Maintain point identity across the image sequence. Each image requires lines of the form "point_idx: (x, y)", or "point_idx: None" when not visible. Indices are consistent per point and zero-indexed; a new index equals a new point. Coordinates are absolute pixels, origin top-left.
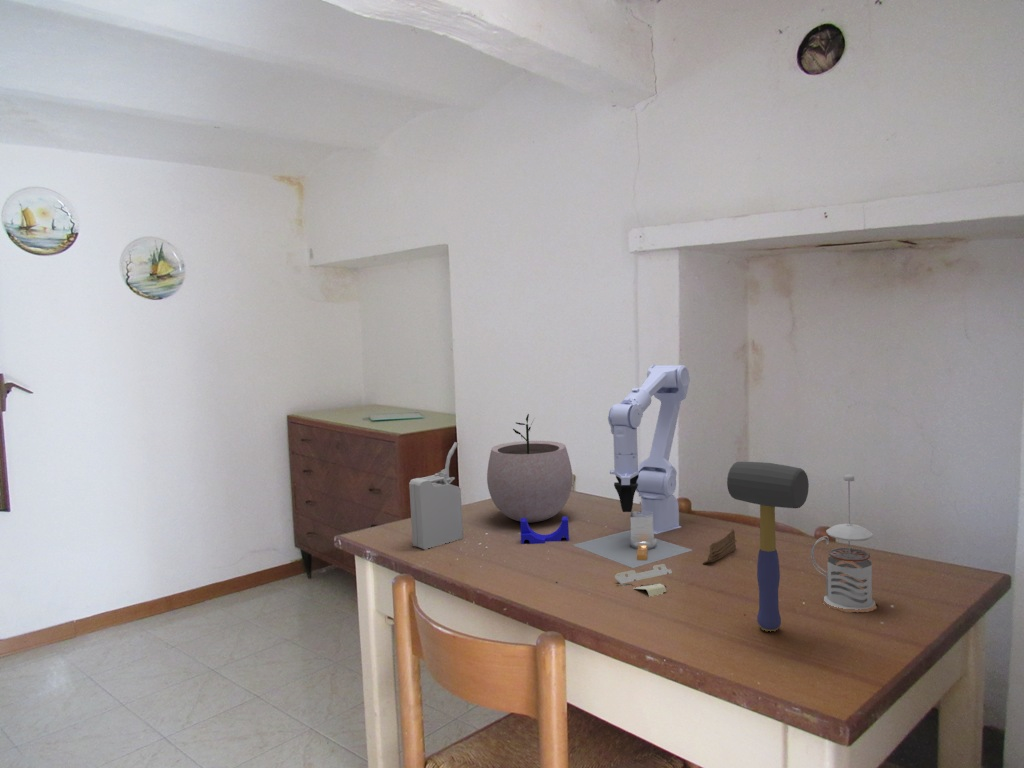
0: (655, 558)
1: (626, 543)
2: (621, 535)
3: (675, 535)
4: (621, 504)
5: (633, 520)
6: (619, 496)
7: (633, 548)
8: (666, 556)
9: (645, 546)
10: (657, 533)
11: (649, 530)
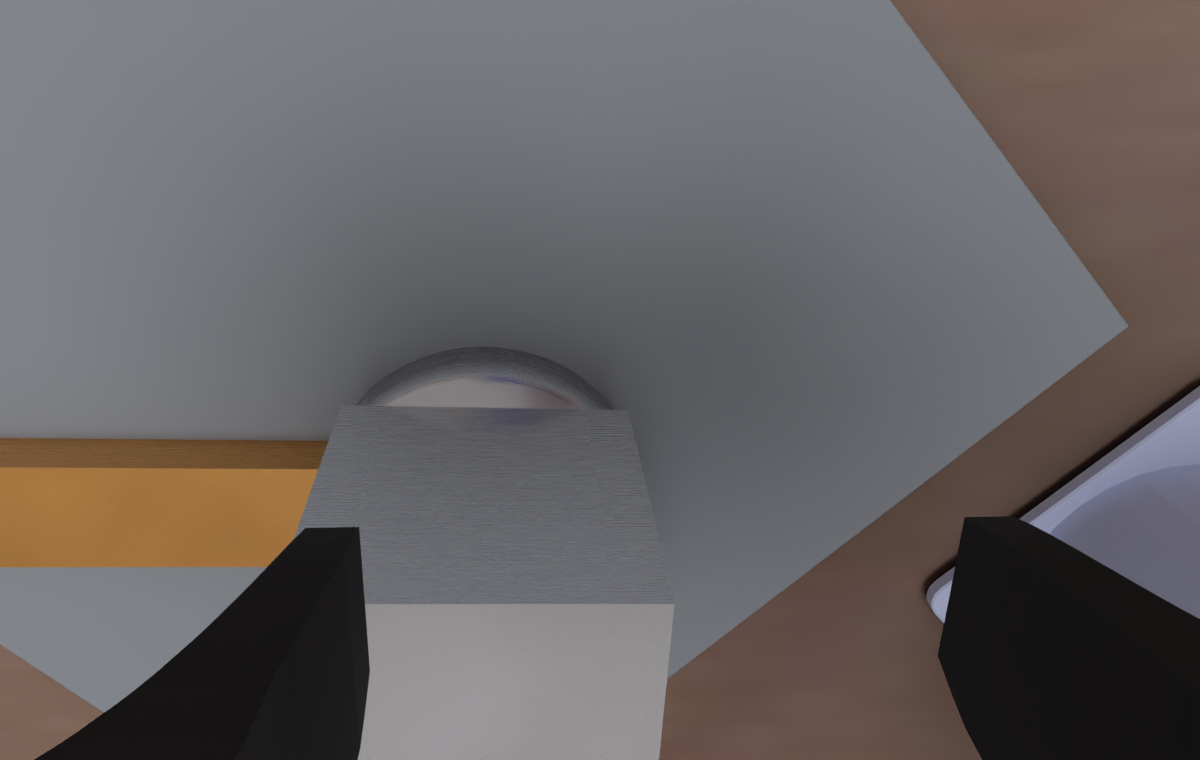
0: (54, 612)
1: (570, 304)
2: (911, 232)
3: (913, 749)
4: (233, 612)
5: None
6: (74, 743)
7: (369, 390)
8: None
9: (272, 548)
10: (939, 616)
11: None
